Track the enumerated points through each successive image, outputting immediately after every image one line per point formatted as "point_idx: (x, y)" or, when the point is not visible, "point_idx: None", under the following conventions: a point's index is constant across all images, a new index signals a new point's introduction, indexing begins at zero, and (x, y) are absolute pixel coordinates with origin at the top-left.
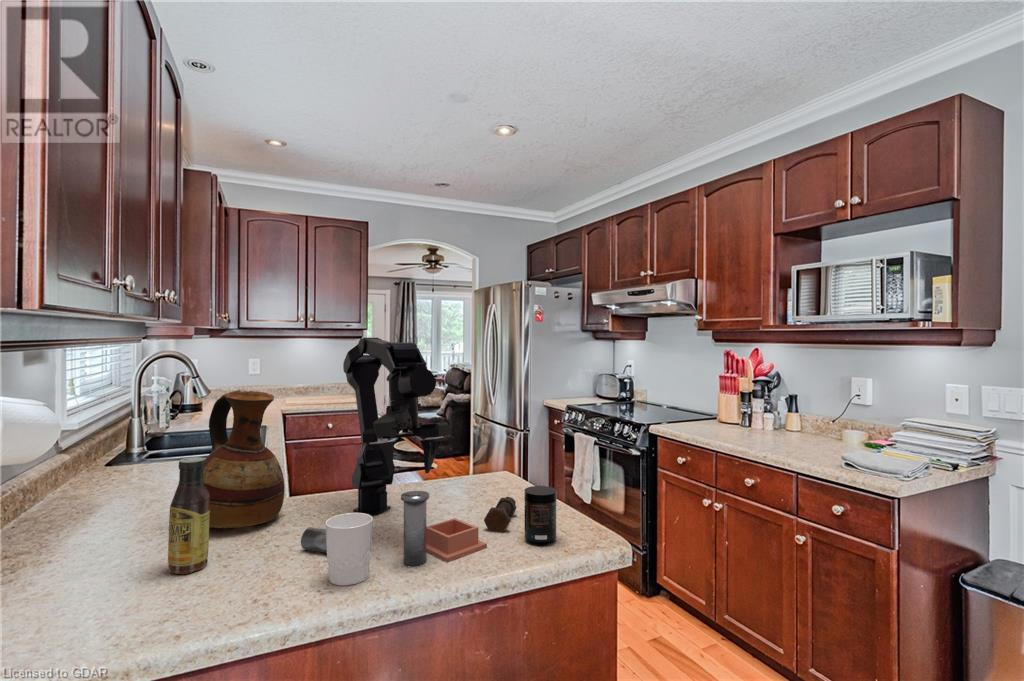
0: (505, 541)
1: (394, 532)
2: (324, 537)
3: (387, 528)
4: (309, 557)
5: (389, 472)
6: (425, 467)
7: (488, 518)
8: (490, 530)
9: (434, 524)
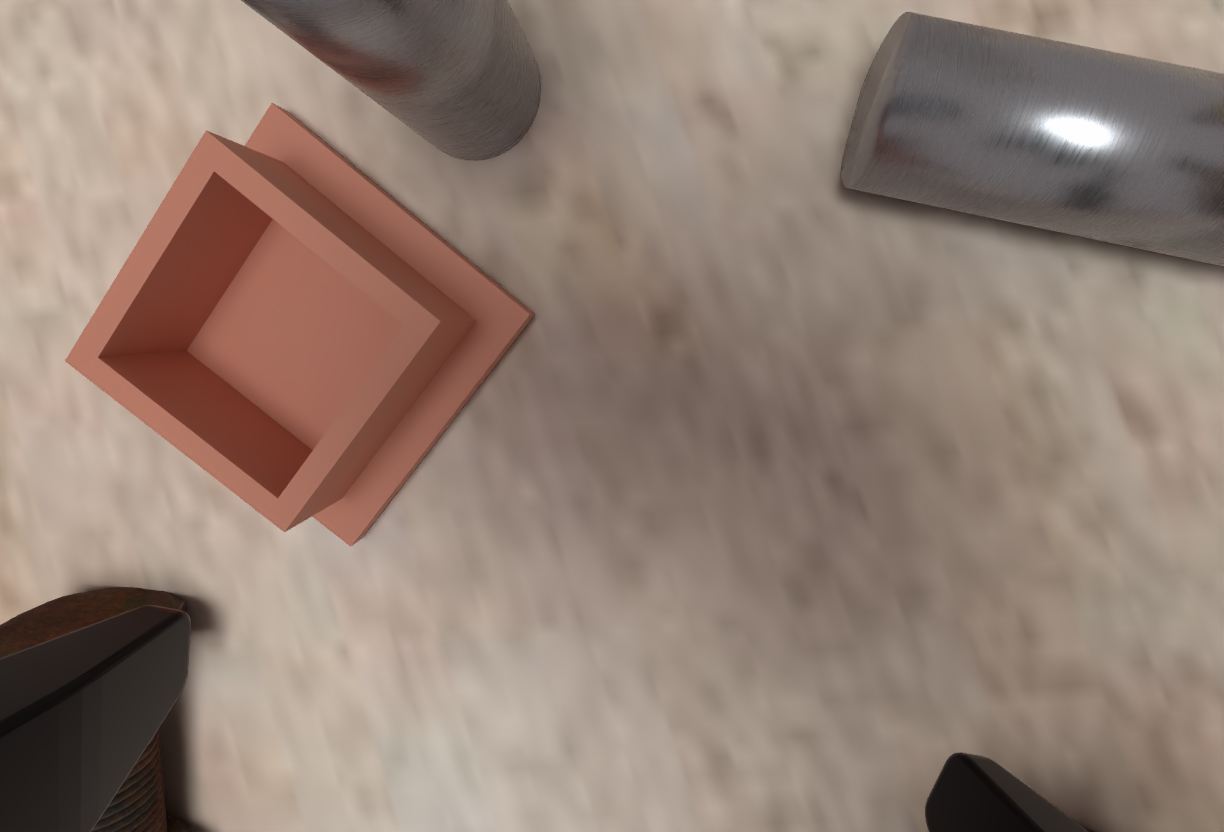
0: (59, 459)
1: (748, 532)
2: (1201, 73)
3: (816, 594)
4: (1190, 55)
5: (978, 800)
6: (66, 662)
7: None
8: (172, 596)
9: (388, 385)
